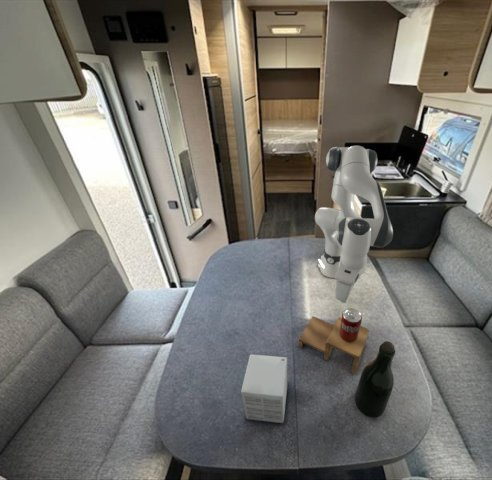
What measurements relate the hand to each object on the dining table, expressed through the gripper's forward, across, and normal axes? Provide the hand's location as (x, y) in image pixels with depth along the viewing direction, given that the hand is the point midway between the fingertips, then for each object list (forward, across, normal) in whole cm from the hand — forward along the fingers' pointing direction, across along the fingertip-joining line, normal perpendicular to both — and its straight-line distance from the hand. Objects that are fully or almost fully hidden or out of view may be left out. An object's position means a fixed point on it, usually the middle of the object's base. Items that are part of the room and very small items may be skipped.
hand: (347, 292), depth 98 cm
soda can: (+18, +4, +4) cm, 19 cm away
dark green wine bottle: (+29, +20, +18) cm, 39 cm away
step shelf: (+29, +4, -2) cm, 30 cm away
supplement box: (+29, +36, -14) cm, 48 cm away
